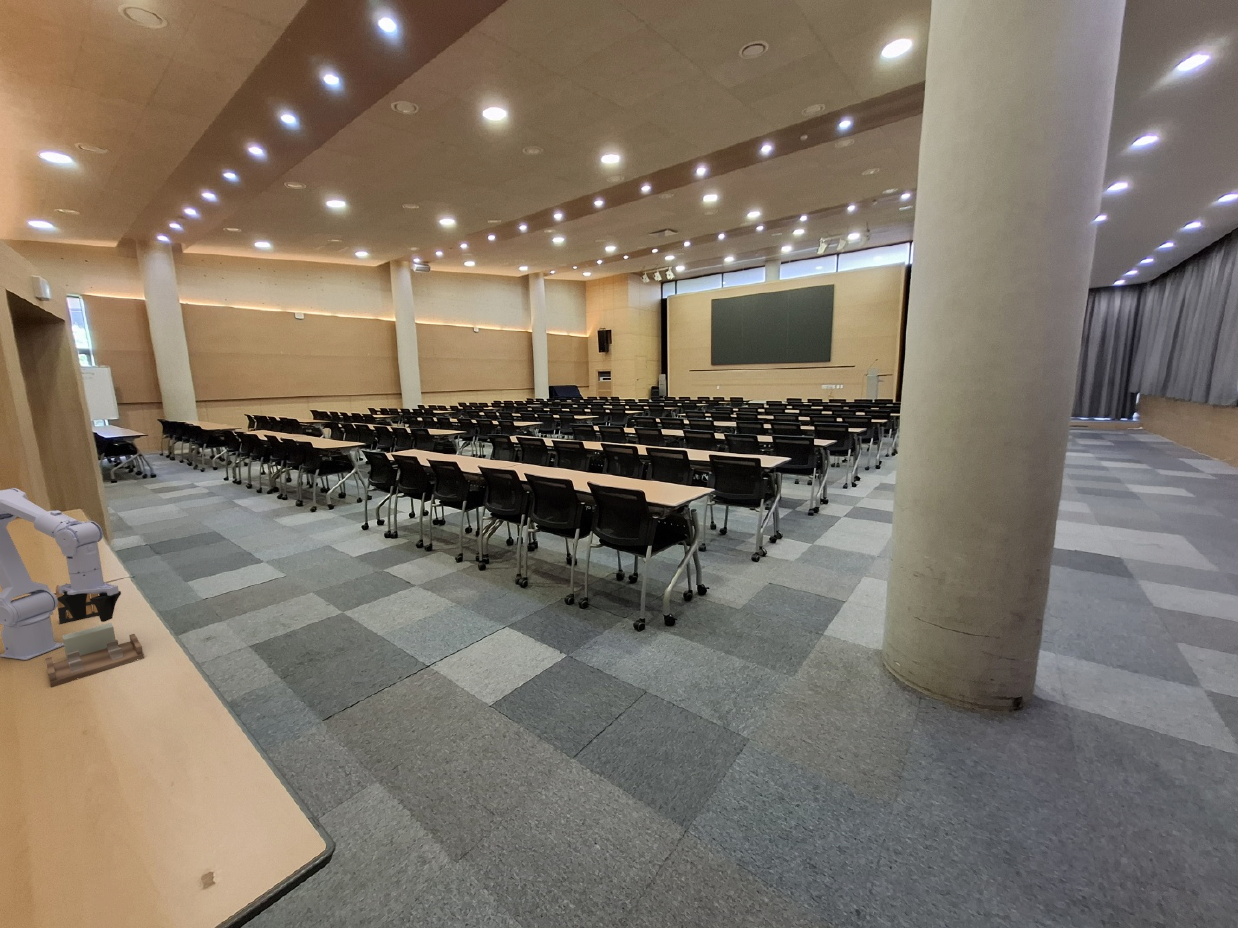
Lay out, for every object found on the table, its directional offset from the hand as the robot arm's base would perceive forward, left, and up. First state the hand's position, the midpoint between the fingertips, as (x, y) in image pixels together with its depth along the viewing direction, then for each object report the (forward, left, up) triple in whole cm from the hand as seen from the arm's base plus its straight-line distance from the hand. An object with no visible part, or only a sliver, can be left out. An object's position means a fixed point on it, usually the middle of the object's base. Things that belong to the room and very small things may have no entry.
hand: (93, 619), depth 128 cm
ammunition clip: (-32, +16, -10) cm, 37 cm away
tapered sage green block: (-5, +1, -10) cm, 11 cm away
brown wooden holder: (+4, -3, -10) cm, 11 cm away
